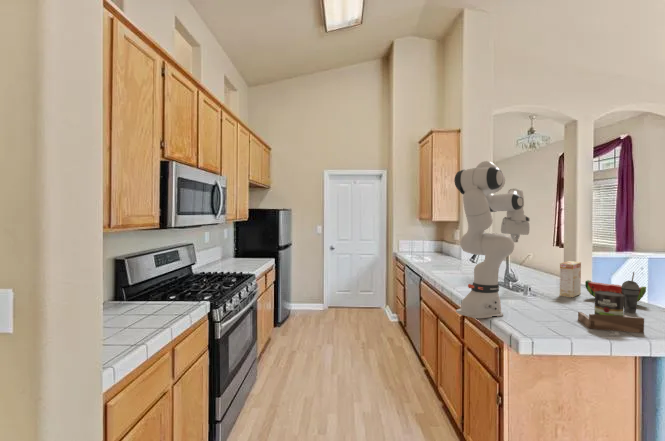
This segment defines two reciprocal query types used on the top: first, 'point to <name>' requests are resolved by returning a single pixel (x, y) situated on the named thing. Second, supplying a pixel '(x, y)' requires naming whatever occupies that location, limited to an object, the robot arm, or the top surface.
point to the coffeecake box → (570, 278)
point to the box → (612, 322)
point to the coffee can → (609, 303)
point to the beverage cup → (630, 295)
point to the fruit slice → (609, 288)
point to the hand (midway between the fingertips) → (515, 242)
